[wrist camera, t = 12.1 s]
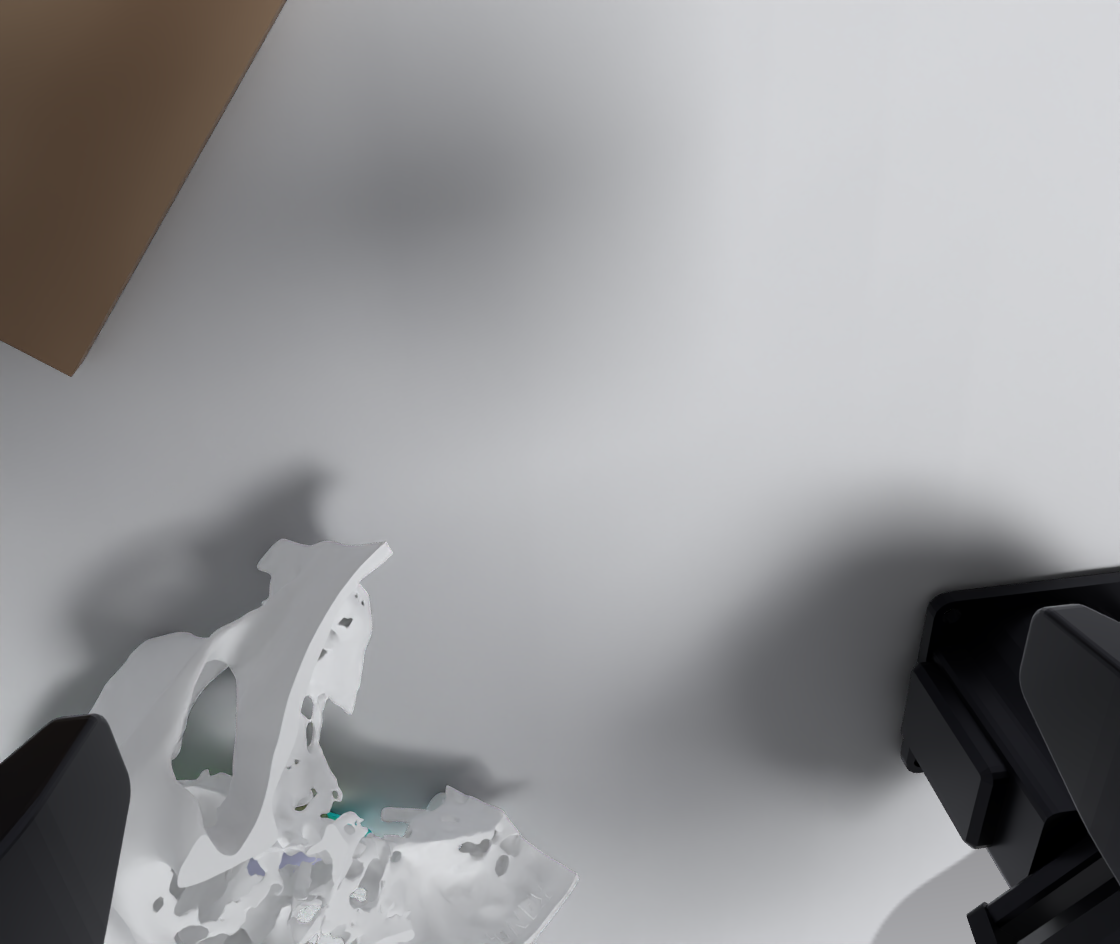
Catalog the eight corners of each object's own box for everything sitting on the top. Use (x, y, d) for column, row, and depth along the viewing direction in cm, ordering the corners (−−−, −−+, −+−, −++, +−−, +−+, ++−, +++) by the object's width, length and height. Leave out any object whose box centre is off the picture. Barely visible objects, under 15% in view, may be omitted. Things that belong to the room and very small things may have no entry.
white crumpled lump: (-184, 747, 20) (-7, 933, 14) (149, 487, 25) (385, 540, 19) (138, 1022, 26) (356, 1232, 20) (353, 770, 31) (579, 878, 25)
